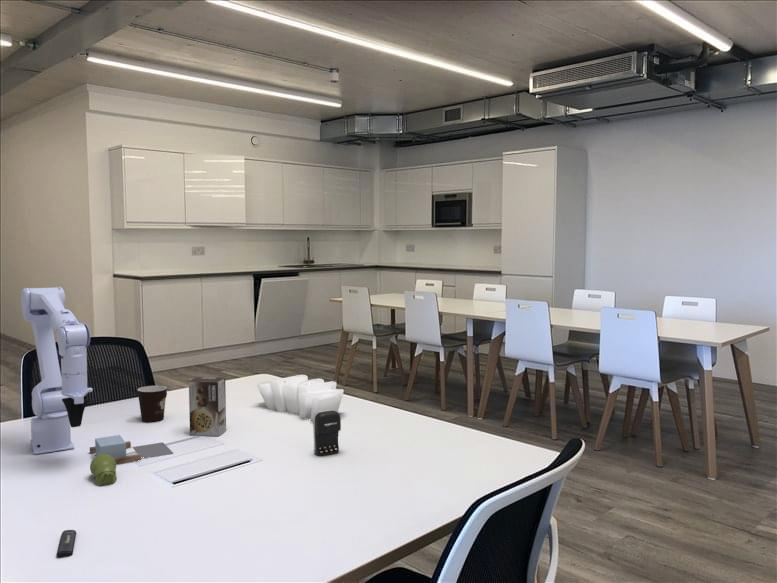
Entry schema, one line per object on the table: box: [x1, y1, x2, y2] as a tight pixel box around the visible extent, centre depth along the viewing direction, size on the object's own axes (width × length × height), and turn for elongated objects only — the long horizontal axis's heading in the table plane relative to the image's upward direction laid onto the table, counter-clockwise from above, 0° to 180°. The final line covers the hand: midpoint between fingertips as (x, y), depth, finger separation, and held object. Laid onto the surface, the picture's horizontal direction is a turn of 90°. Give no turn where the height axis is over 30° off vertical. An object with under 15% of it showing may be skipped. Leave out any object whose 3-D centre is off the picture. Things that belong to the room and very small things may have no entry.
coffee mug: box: [137, 385, 168, 424], centre depth 198 cm, size 12×9×10 cm
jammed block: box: [94, 434, 127, 458], centre depth 162 cm, size 6×8×4 cm
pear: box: [89, 454, 117, 486], centre depth 147 cm, size 6×5×10 cm
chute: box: [89, 440, 142, 466], centre depth 163 cm, size 10×13×2 cm
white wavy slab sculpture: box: [256, 374, 345, 422], centre depth 209 cm, size 35×16×11 cm, turn 45°
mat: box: [132, 442, 174, 459], centre depth 168 cm, size 8×11×1 cm
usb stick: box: [55, 529, 77, 559], centre depth 115 cm, size 10×3×2 cm, turn 22°
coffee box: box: [188, 376, 227, 437], centre depth 184 cm, size 9×6×16 cm
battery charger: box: [312, 410, 342, 456], centre depth 167 cm, size 7×4×11 cm, turn 121°
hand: (75, 426), depth 157 cm, fingers closed
